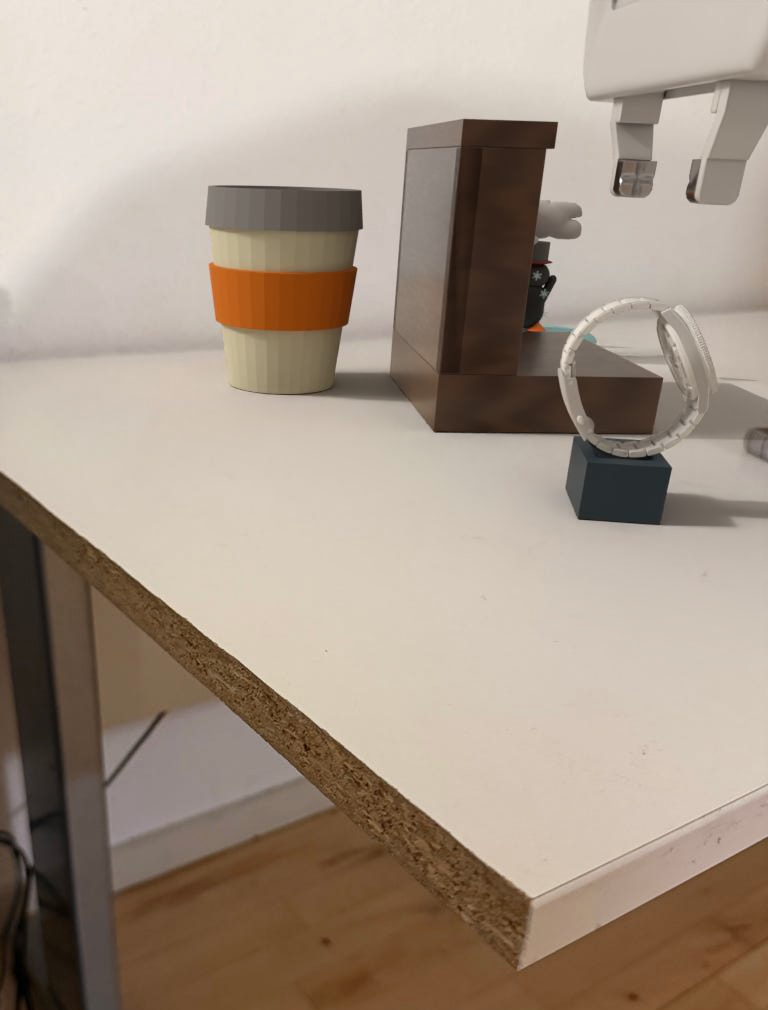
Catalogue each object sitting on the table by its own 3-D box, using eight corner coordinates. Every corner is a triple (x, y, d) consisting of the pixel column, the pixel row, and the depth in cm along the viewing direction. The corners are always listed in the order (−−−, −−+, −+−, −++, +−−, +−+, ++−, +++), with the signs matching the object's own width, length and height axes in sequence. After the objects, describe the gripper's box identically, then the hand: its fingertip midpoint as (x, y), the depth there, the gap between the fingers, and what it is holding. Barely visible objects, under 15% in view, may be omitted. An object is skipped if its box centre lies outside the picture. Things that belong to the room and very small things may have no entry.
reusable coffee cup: (378, 394, 78) (392, 192, 71) (231, 402, 74) (231, 189, 67) (321, 365, 88) (328, 186, 81) (190, 371, 84) (186, 184, 77)
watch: (698, 527, 51) (748, 311, 46) (544, 516, 52) (577, 302, 47) (674, 494, 56) (717, 296, 51) (534, 485, 56) (563, 289, 52)
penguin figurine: (591, 348, 101) (617, 190, 94) (599, 367, 91) (629, 192, 84) (403, 337, 104) (415, 183, 97) (392, 353, 95) (404, 185, 88)
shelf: (563, 377, 86) (601, 134, 77) (652, 434, 68) (714, 126, 60) (389, 375, 85) (407, 128, 76) (433, 431, 67) (463, 118, 59)
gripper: (978, -246, 31) (852, 213, 37) (701, -96, 50) (646, 196, 56) (794, -260, 31) (697, 207, 37) (582, -103, 49) (541, 192, 55)
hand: (665, 200), depth 47 cm, fingers open, 8 cm apart
